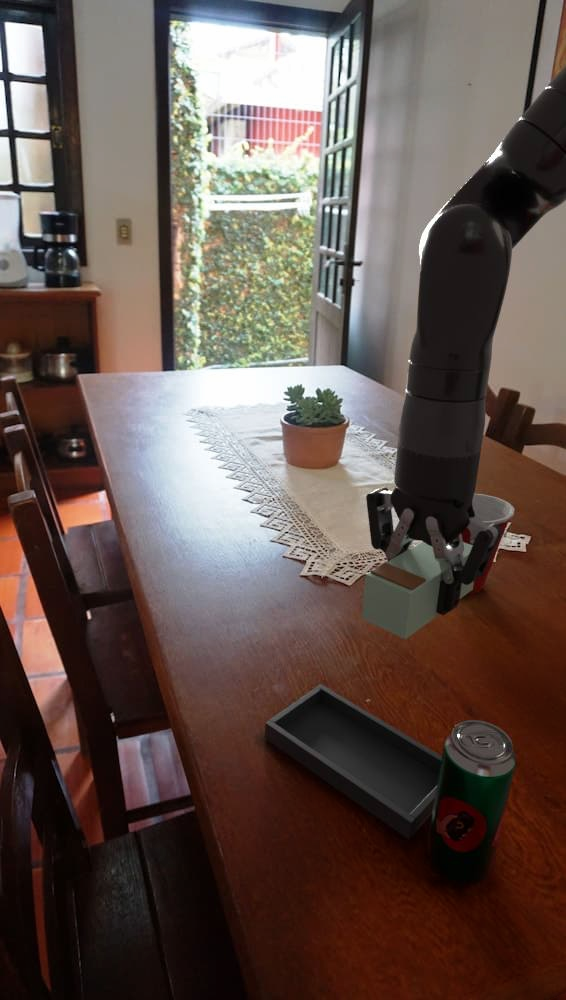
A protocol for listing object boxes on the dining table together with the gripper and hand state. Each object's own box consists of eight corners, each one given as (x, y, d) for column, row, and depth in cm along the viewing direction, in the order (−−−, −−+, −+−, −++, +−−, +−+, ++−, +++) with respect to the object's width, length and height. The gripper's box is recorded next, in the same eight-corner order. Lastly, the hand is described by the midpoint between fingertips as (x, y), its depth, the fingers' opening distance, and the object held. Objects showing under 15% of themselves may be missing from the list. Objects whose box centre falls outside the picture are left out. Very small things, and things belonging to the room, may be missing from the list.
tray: (319, 698, 71) (320, 683, 70) (459, 784, 61) (462, 768, 60) (264, 738, 65) (265, 722, 64) (408, 840, 55) (411, 822, 54)
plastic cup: (434, 558, 101) (445, 482, 96) (508, 579, 96) (523, 500, 91) (407, 588, 92) (418, 507, 88) (487, 613, 87) (502, 528, 83)
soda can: (501, 887, 51) (530, 765, 47) (435, 890, 51) (458, 767, 46) (478, 831, 56) (503, 715, 51) (418, 833, 56) (437, 716, 51)
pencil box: (432, 573, 75) (437, 530, 73) (473, 589, 72) (479, 545, 70) (361, 619, 66) (365, 571, 64) (405, 640, 63) (410, 591, 61)
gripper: (532, 450, 61) (502, 613, 67) (397, 417, 70) (382, 564, 76) (492, 470, 56) (465, 645, 62) (352, 431, 64) (341, 588, 71)
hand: (419, 599), depth 69 cm, fingers closed on pencil box, 5 cm apart
